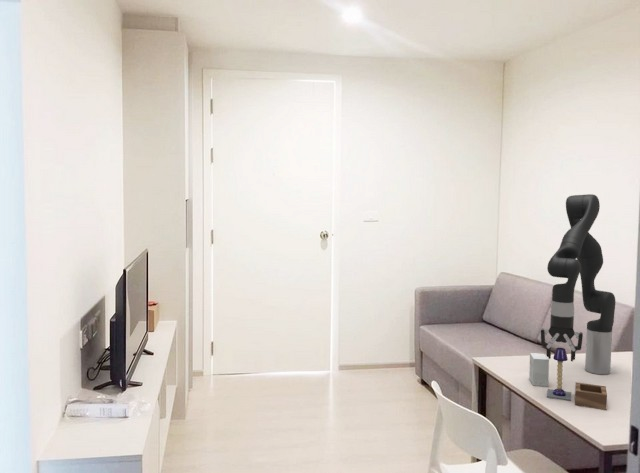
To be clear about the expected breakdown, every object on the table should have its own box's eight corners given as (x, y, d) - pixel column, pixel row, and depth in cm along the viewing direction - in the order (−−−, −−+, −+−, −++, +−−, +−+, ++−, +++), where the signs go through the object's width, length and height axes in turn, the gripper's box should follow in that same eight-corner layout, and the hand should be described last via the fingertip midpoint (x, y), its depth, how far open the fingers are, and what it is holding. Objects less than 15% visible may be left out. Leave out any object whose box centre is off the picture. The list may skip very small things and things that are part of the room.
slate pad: (547, 390, 201) (547, 388, 201) (571, 393, 197) (571, 392, 197) (546, 397, 194) (546, 395, 193) (571, 401, 190) (571, 399, 190)
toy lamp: (549, 391, 198) (551, 346, 196) (562, 391, 198) (563, 346, 197) (556, 396, 193) (558, 350, 191) (569, 396, 193) (570, 350, 192)
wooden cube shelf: (575, 395, 195) (575, 382, 195) (605, 400, 191) (605, 386, 191) (574, 405, 187) (575, 390, 186) (606, 409, 183) (607, 395, 182)
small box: (548, 386, 204) (549, 359, 204) (532, 385, 205) (533, 358, 205) (544, 379, 212) (545, 353, 211) (528, 378, 213) (529, 352, 212)
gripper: (584, 313, 193) (582, 359, 195) (541, 309, 200) (539, 354, 201) (584, 317, 187) (582, 365, 188) (539, 313, 193) (538, 359, 194)
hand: (560, 359), depth 194 cm, fingers open, 6 cm apart
